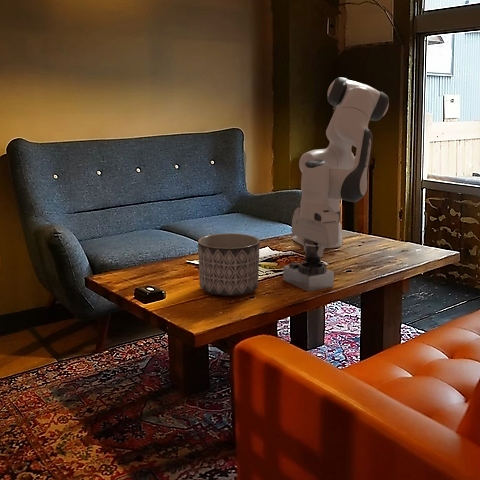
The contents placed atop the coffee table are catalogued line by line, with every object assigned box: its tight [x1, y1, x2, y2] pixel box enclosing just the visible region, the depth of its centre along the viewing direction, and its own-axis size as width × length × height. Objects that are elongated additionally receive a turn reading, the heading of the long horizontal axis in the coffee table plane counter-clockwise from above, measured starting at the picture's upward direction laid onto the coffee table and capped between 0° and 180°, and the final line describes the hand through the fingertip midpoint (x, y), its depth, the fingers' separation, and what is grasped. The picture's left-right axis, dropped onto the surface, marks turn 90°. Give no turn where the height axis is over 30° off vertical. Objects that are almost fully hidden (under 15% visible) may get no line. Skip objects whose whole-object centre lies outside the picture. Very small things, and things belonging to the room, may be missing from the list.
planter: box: [197, 232, 261, 297], centre depth 195 cm, size 19×19×16 cm
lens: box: [304, 239, 322, 263], centre depth 200 cm, size 5×5×7 cm
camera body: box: [282, 261, 335, 293], centre depth 204 cm, size 14×10×7 cm
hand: (313, 253), depth 200 cm, fingers closed on lens, 5 cm apart
